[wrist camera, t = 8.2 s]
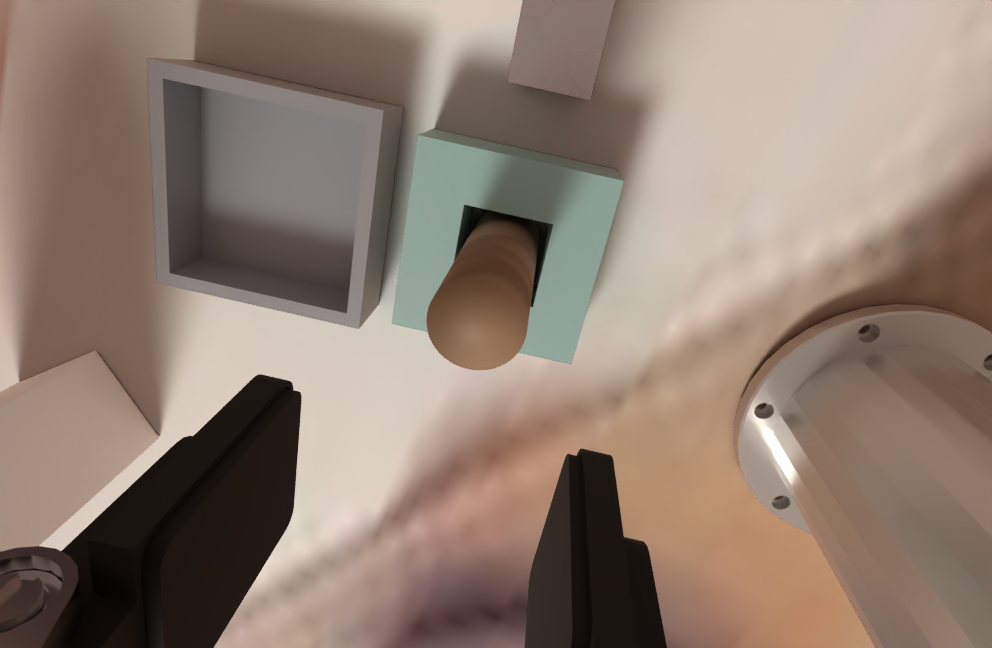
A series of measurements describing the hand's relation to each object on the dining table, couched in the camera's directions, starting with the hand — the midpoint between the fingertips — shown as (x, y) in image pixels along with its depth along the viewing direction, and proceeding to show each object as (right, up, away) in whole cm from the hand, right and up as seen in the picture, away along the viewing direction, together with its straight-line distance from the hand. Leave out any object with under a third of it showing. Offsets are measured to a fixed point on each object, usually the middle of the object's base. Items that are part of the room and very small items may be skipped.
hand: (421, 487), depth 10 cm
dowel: (+2, +7, +16) cm, 17 cm away
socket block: (+2, +7, +16) cm, 17 cm away
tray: (-8, +9, +16) cm, 20 cm away
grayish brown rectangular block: (+4, +15, +12) cm, 20 cm away
